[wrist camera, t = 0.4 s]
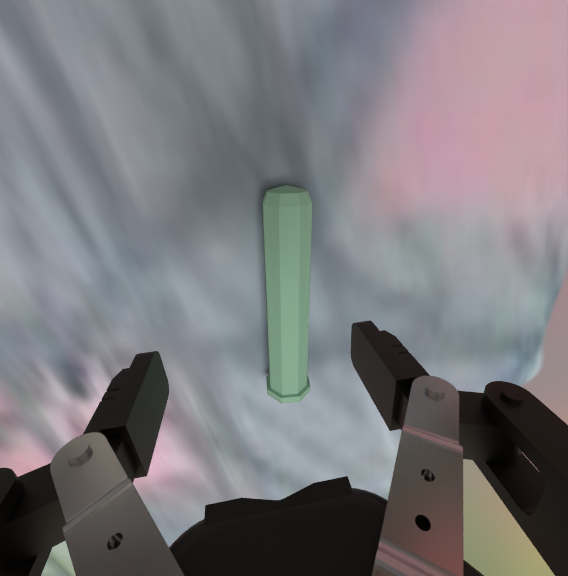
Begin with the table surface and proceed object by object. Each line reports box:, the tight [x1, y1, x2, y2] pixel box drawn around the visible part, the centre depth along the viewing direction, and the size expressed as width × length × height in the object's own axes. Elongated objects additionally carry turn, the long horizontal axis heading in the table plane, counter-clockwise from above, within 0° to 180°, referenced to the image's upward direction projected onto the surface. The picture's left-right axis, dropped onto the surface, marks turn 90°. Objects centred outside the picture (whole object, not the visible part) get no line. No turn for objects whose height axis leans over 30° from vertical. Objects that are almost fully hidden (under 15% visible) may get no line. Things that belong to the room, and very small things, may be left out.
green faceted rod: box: [262, 185, 312, 403], centre depth 33 cm, size 6×6×25 cm
